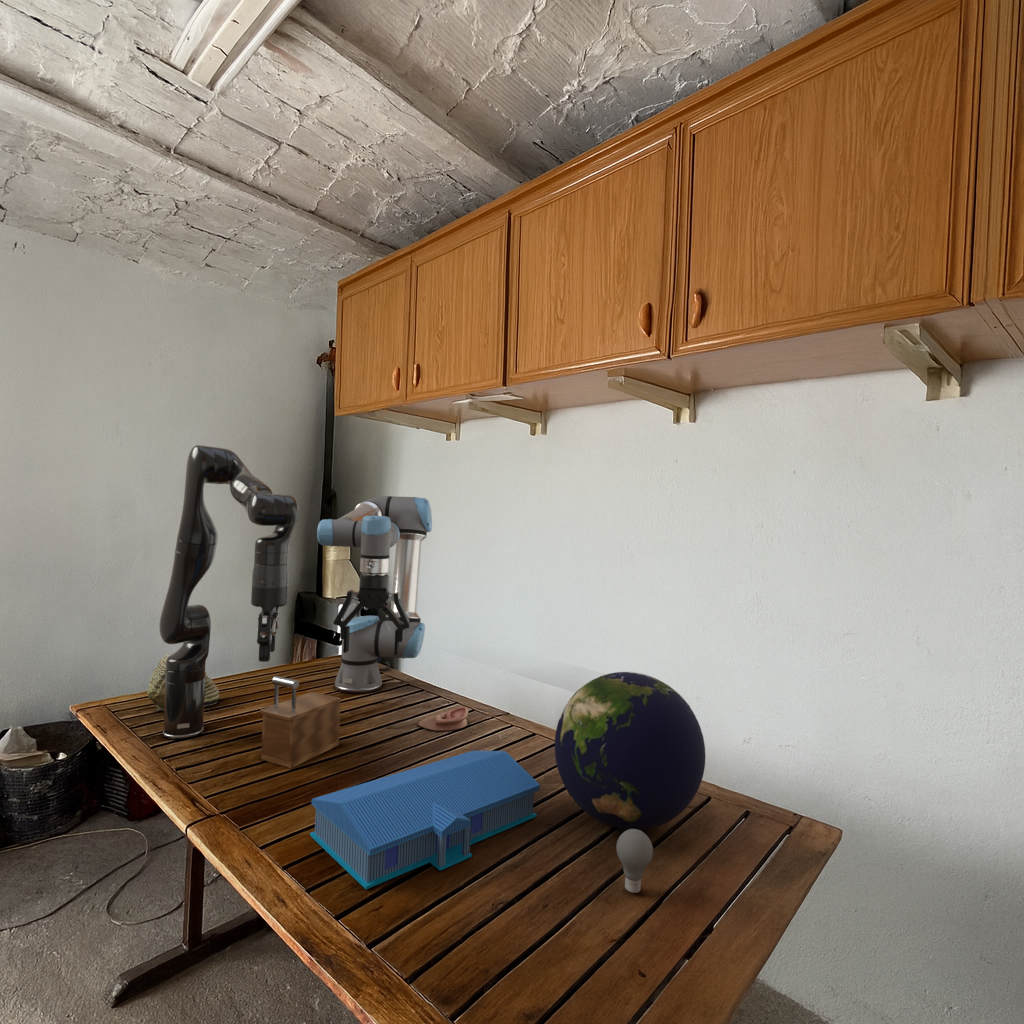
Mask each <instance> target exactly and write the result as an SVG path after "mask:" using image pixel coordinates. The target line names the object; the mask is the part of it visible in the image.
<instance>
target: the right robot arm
mask: <svg viewBox="0 0 1024 1024" xmlns="http://www.w3.org/2000/svg"><path fill="white" fill-rule="evenodd" d="M432 529H433V516H432V508H431V503H430V501H429V500H428V499H427V498H425V497H418V496H417V497H416V496H394V495H383V496H376V497H373V498H372V497H371V498H369V499H366V500H364V501H362V502H359V503H358V504H357V505H356V506H355V507H354V509H353V510H351V511H349V512H348V513H346V514H345V515H343V516H340V517H339V518H336V519H332V518H328V519H321V520H320V521H319V522H318V524H317V529H316V538H317V542H318V543H319V545H321V546H323V547H325V546H326V547H330V548H332V547H340V548H341V547H345V548H360V565H359V572H360V575H359V588H358V591H355V590H354V589H350V590H348V591H347V592H346V598H345V600H344V602H343V603H342V606H341V608H340V609H339V611H338V613H337V615H336V617H335V619H334V620H333V625H334V626H338V627H339V628H340V631H339V633H340V634H339V637H340V640H341V659H340V660H341V663H340V667H339V669H338V671H337V675H336V677H335V680H334V689H335V690H336V691H338V692H341V693H345V694H367V693H372V692H377V691H378V690H380V689H381V688H382V686H383V679H382V676H381V672H383V671H388V670H390V669H391V664H390V662H389V661H385V666H387V667H383V668H381V667H379V665H378V658H390V659H391V658H393V659H394V658H395V659H403V660H404V659H415V658H417V657H418V656H419V654H420V652H421V650H422V648H423V644H424V639H425V632H426V631H425V629H426V624H425V623H423V622H421V620H422V617H421V616H420V615H419V614H418V597H419V595H418V594H419V583H420V570H421V569H420V568H421V557H422V556H421V555H422V545H423V544H422V543H423V541H424V540H425V539H426V538H427V535H428V533H430V532H432ZM394 546H395V550H394V551H395V553H394V565H393V578H392V591H391V592H390V591H389V575H388V573H389V572H390V549H391V548H392V547H394ZM356 598H358V600H359V601H360V602H359V603H358V604H357V606H355V608H354V609H353V610H352V611H351V612H350V613H349V614H348V615H347V616H346V617H345V614H346V613H347V611H348V609H349V607H350V605H351V604H352V601H353V600H354V599H356ZM389 599H391V602H390V604H389V603H388V602H387V601H388V600H389ZM363 608H365V609H366V610H367V609H368V610H369V609H374V610H379V609H381V610H382V612H384V613H385V620H383V621H381V620H380V618H379V617H380V616H378V615H363V616H357V615H358V614H359V613H360V611H362V609H363ZM344 617H345V618H344ZM343 618H344V619H343Z"/></svg>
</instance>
